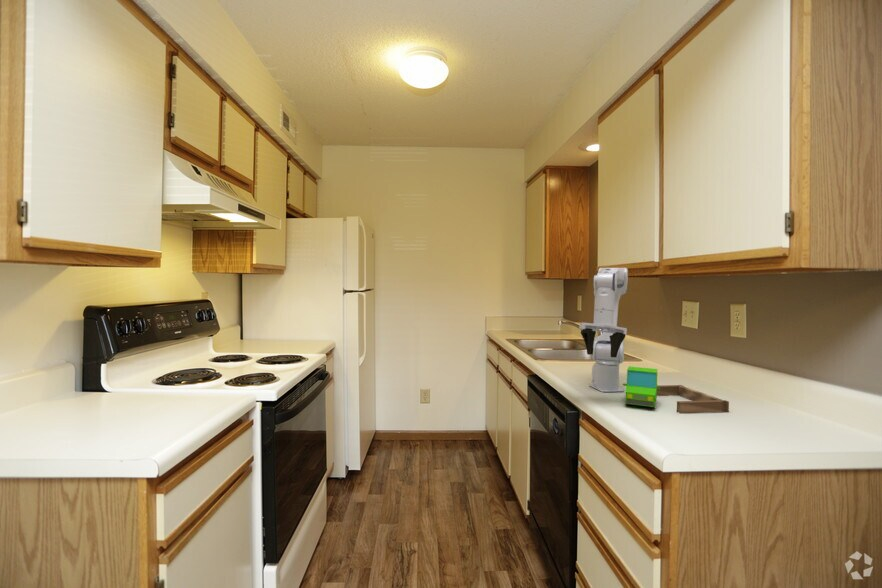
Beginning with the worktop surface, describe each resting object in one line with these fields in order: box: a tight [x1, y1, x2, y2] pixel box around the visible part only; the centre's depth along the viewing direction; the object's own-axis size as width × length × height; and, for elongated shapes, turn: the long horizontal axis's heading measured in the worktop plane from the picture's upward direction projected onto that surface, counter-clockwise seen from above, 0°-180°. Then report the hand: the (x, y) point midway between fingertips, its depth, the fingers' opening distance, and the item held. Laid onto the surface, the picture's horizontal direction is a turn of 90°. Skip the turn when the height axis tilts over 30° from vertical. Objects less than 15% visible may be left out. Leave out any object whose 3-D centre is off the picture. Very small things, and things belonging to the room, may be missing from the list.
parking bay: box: [657, 384, 730, 414], centre depth 132 cm, size 20×15×3 cm
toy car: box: [622, 365, 660, 410], centre depth 130 cm, size 10×13×10 cm
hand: (601, 355), depth 131 cm, fingers open, 7 cm apart
